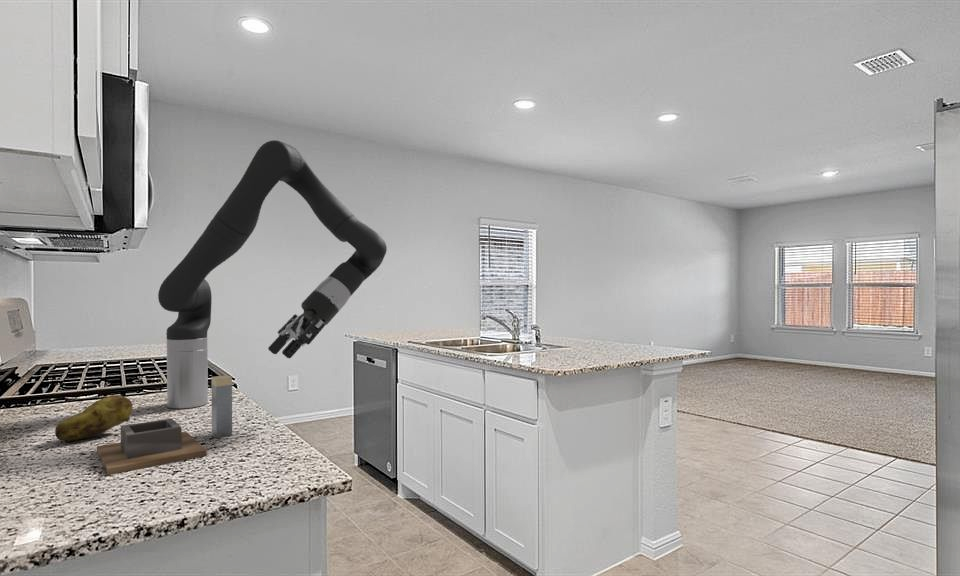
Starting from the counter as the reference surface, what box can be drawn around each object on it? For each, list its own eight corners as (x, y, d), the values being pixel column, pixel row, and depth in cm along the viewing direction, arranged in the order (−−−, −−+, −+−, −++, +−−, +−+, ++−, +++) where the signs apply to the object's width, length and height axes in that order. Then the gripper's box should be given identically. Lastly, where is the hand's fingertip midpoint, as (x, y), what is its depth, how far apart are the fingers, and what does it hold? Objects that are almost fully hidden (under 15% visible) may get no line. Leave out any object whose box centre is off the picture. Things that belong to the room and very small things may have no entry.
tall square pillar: (212, 434, 112) (211, 376, 112) (227, 431, 114) (226, 375, 114) (216, 438, 110) (216, 379, 110) (232, 435, 112) (231, 377, 112)
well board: (97, 451, 101) (96, 424, 101) (186, 436, 111) (185, 412, 111) (107, 474, 89) (107, 444, 89) (206, 455, 99) (206, 428, 99)
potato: (58, 436, 111) (57, 398, 111) (132, 427, 118) (132, 390, 118) (53, 447, 104) (53, 406, 104) (133, 436, 111) (132, 397, 111)
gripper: (303, 289, 130) (254, 340, 123) (329, 289, 119) (277, 345, 112) (324, 310, 134) (278, 361, 127) (351, 312, 123) (302, 368, 116)
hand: (278, 353), depth 119 cm, fingers open, 8 cm apart
